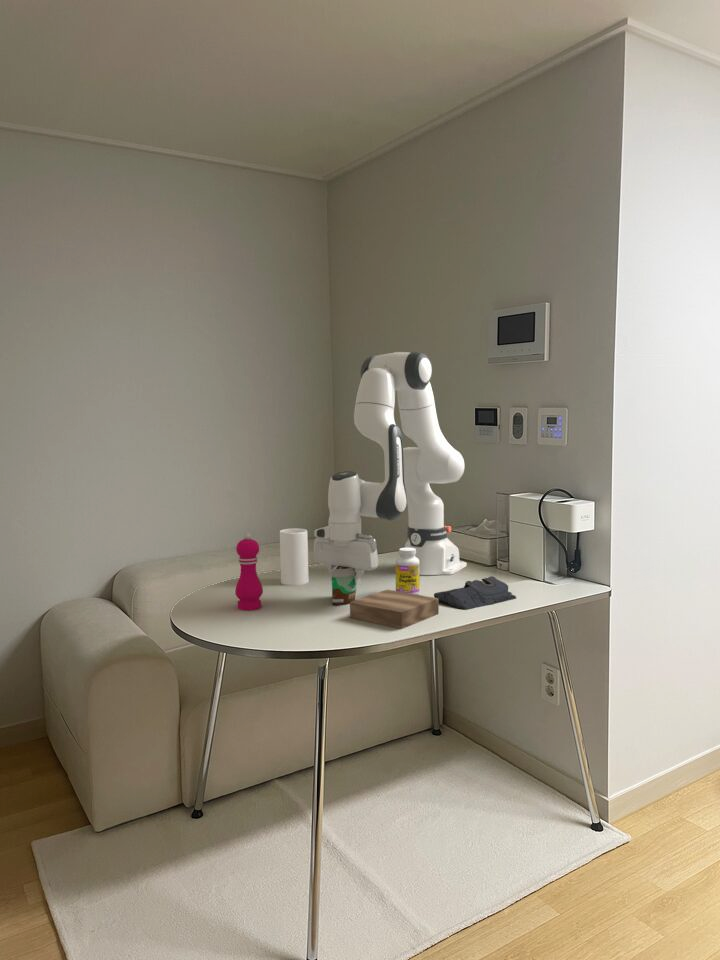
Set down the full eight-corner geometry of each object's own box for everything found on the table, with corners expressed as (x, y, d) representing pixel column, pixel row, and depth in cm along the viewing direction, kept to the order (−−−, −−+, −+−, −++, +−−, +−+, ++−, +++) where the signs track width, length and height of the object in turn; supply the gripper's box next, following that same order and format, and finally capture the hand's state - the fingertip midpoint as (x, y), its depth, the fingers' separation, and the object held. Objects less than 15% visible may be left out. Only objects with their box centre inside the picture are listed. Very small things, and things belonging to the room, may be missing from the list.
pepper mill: (232, 610, 202) (229, 535, 200) (240, 603, 209) (238, 530, 207) (259, 611, 201) (256, 535, 199) (266, 604, 208) (264, 531, 206)
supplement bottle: (395, 596, 214) (395, 551, 213) (396, 591, 220) (395, 546, 219) (419, 597, 213) (419, 551, 212) (419, 591, 220) (419, 546, 219)
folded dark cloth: (425, 601, 211) (424, 584, 210) (482, 588, 224) (482, 572, 223) (464, 613, 199) (464, 595, 198) (522, 599, 212) (522, 582, 211)
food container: (353, 608, 203) (353, 570, 202) (330, 606, 205) (331, 569, 203) (364, 596, 215) (364, 561, 214) (342, 594, 216) (343, 559, 215)
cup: (309, 580, 236) (308, 528, 234) (307, 586, 228) (306, 532, 226) (282, 580, 236) (281, 528, 234) (279, 586, 228) (278, 533, 226)
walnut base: (388, 604, 206) (387, 589, 206) (438, 613, 196) (438, 598, 196) (350, 617, 194) (349, 602, 194) (402, 628, 184) (401, 612, 184)
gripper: (382, 534, 204) (383, 585, 206) (324, 527, 217) (325, 575, 218) (368, 537, 199) (368, 590, 201) (309, 530, 212) (310, 579, 213)
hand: (345, 582), depth 210 cm, fingers open, 6 cm apart
